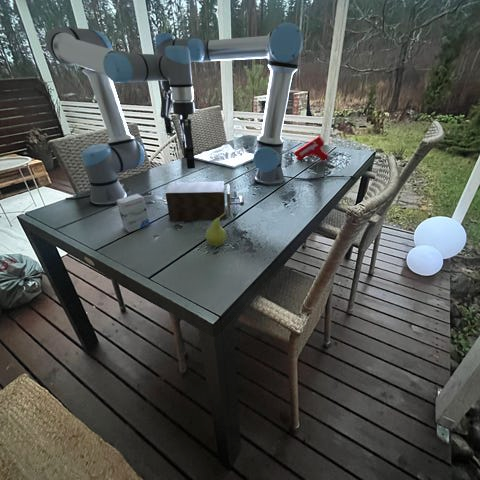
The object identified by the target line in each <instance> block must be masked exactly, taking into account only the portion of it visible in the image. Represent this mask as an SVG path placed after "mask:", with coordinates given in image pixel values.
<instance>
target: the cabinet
mask: <svg viewBox="0 0 480 480" xmlns="http://www.w3.org/2000/svg"><path fill="white" fill-rule="evenodd" d="M225 193H226V192H225V181H223V180H222V181H220V180H219V181H218V180H217V181H175V182H173V181H172V182H171V181H170V183H169V185H168V186H167V189H166V190H165V198H166V199H165V200H166V205H167V206H166V207H167V211H168V218H169V221H170V222H188V221H189V222H191V221H214V220H215V219H216V218H219V217H220V216H221V215H223V214H224V213H225V211H226V195H225ZM225 220H226V214H225V215H223V216H222V217H221V218H220V221H225Z"/></svg>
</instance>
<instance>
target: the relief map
mask: <svg viewBox="0 0 480 480" xmlns="http://www.w3.org/2000/svg"><path fill="white" fill-rule="evenodd" d="M253 155H254V153H250V152H248V150H246V148H244V147H241V148H239V149H238V150H237V149H235V148H233V147H232V145H230V144H226V143H224V144H223V145H221V146H219V147H216V148H214V149H210V150H208V151H202V152H201V153H199V154H196V155H194V160H197V161H202V162H206V163H211V164H216V165H218V166H223V167H228V168H232V169H235V168H238V167H241V166H243V165H245V164H248V163H250V162H252V161H253Z"/></svg>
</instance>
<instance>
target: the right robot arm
mask: <svg viewBox="0 0 480 480" xmlns="http://www.w3.org/2000/svg"><path fill="white" fill-rule="evenodd" d="M154 41H155V49H156V54H165V48H166V47H167V46H186V47H187V48H188V49H189V54H190V61H191V63H192V62H193V63H206V62H218V61H235V60H253V59H254V60H255V59H267V60H268V62H267V67H268V69H269V70H270V75H269V82H268V87H267V94H266V101H265V106H264V108H265V109H264V115H263V121H262V128H261V134H259V136H257V138H256V145H255V151H254V153H253V154H254V155H253V160H252V161H253V164H254V166H255V168H256V169H257V171H256V174H255V177H254V181H255V183H258V184H259V185H262V186H263V185H264V186H279V185H281V184H283V183H284V181H285V178H286V179H287V178H288V179H294V180H300V181H301V180H302V181H312V180H313V181H314V180H319V179H324V178H346V177H347V176H344V175H324V176H318V177H311V178H305V177H304V178H303V177H294V176H289V175H287V176H286V175H284V172H283V171H284V170H283V167H282V165H283V152H284V151H283V150H284V143H285V141H284V136H283V135H282V131H283V126H284V122H285V116H286V111H287V106H288V101H289V95H290V89H291V84H292V79H293V75H294V73H295V72H297V71H298V68H299V63H300V58H301V53H302V51H303V48H304V37H303V33H302V30H301V28H300V27H299V26H298V25H297V24H295V23H292V22H283V23H280V24H279V25H277V26H276V27H275V28H274V29H273V30H272V31H270V32H268V34H267V35H261V36H248V37H247V36H246V37H235V38H223V39H221V38H220V39H210V40H202V39H200V38H194V37H192V38H180V39H177V38H175V36H174V34H173V33H170V32H159V33H158V32H157V33H156V34H155V35H154ZM160 85H161V88H162V90H164V91H161V92H160V96H161V103H160V117H161V119H163V121H164V127H165V133H166V134H167V135H172V134H173V127H172V119H171V117H170V115H171V111H172V102H174V101H173V100H172V98H171V94H169V90H171V89H170V83H169V81H160ZM177 117H178V120H179V119H180V116H179V115H177ZM348 177H349V178H351V179H354V176H352V175H351V176H348Z"/></svg>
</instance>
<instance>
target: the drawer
mask: <svg viewBox="0 0 480 480" xmlns="http://www.w3.org/2000/svg"><path fill="white" fill-rule="evenodd" d="M230 185H231V184H230V183H226V214H227V218H229V217H231V206H232V205H233V206H234V205H240V207H243V206H245V200H244V195H242V194H241V195H239V196H231V186H230ZM236 199H237V200H239V201H238V202H231V200H236Z"/></svg>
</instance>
